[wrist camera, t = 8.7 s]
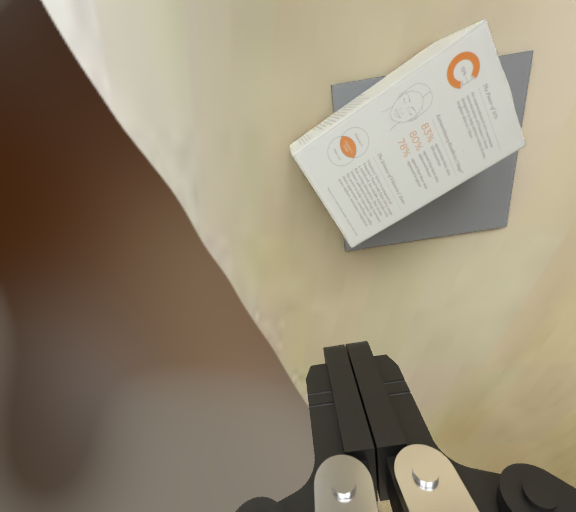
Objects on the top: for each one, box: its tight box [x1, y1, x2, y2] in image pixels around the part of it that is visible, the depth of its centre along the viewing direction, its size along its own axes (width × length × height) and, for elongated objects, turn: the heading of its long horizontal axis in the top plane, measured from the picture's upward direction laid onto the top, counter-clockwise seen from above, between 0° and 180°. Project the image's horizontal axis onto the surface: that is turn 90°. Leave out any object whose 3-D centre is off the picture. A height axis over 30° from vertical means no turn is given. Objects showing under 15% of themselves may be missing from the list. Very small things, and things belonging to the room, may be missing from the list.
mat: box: [331, 51, 533, 251], centre depth 27 cm, size 14×15×1 cm
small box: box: [289, 19, 526, 248], centre depth 23 cm, size 8×6×13 cm
